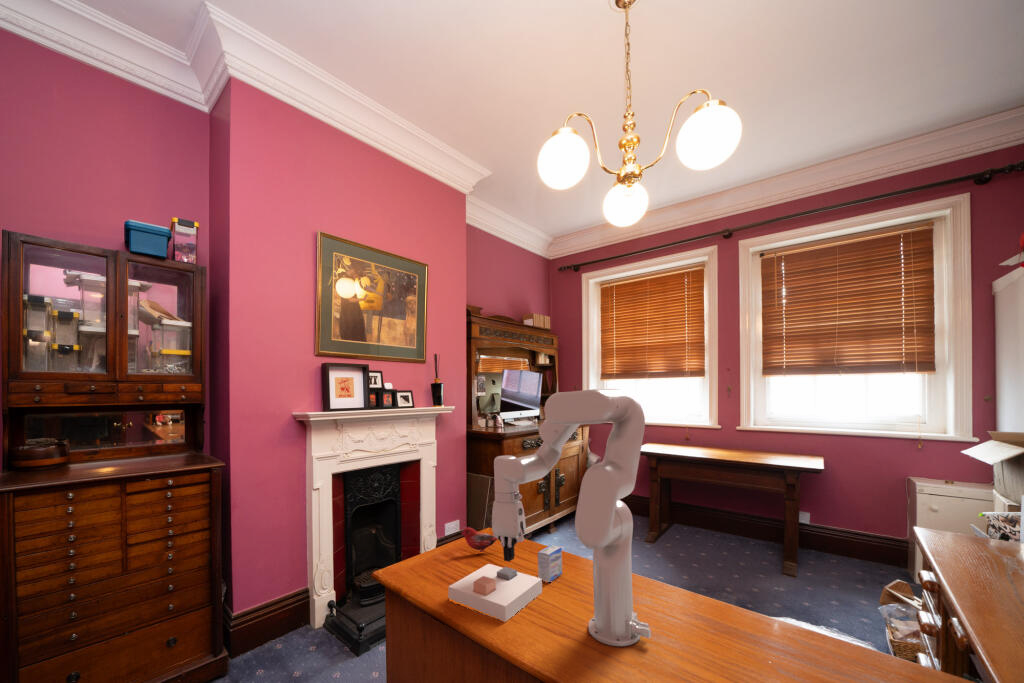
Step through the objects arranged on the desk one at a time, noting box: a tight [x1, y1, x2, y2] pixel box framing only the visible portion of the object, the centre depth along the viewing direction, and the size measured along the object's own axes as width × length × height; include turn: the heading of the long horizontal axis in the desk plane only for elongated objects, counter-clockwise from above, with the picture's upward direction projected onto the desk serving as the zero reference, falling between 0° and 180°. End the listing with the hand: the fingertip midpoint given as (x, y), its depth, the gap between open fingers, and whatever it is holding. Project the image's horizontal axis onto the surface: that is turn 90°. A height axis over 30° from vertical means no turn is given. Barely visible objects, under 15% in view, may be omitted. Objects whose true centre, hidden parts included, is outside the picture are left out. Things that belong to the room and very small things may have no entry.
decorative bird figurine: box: [461, 526, 498, 552], centre depth 154 cm, size 3×18×10 cm, turn 107°
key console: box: [448, 563, 543, 623], centre depth 121 cm, size 20×19×4 cm
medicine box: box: [537, 544, 563, 583], centre depth 134 cm, size 8×4×9 cm, turn 143°
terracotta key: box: [474, 576, 496, 596], centre depth 117 cm, size 4×4×3 cm
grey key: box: [497, 566, 518, 581], centre depth 126 cm, size 4×4×3 cm
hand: (509, 559), depth 126 cm, fingers closed
